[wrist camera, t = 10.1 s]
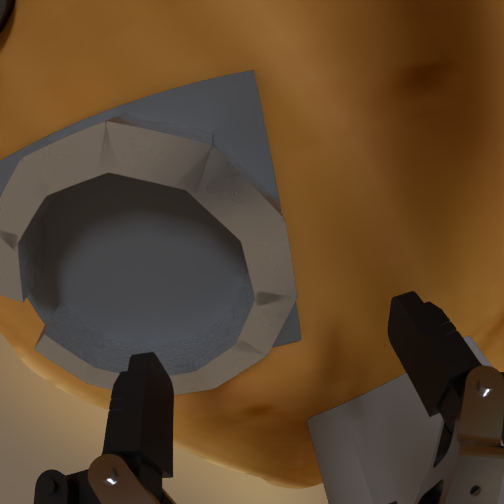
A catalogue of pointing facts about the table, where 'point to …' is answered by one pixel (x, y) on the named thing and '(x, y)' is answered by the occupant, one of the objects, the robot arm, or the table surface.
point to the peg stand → (5, 12)
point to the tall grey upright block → (379, 444)
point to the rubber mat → (153, 228)
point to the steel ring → (174, 175)
